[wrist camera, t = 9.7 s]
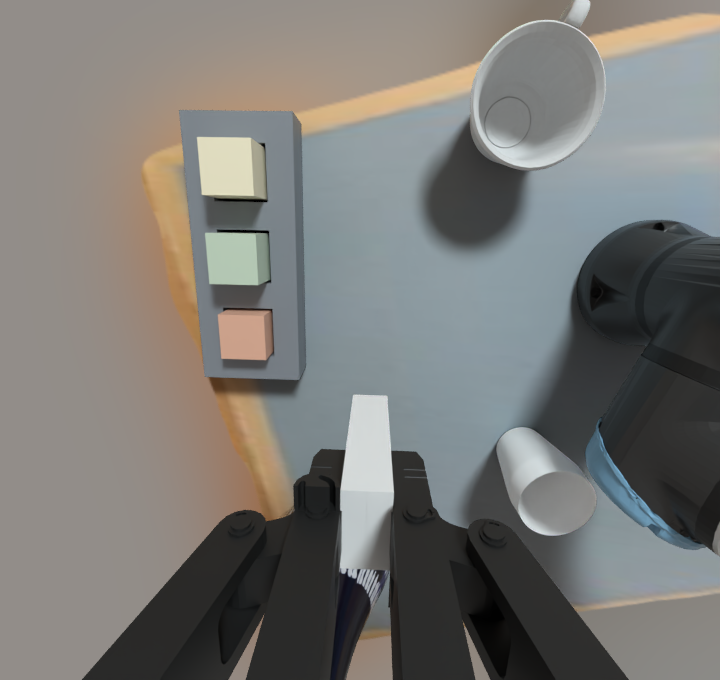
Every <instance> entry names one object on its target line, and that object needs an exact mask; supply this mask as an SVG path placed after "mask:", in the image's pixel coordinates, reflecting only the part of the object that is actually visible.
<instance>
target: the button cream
mask: <svg viewBox="0 0 720 680" xmlns="http://www.w3.org/2000/svg"><path fill="white" fill-rule="evenodd" d="M197 144H198V156H199V167H200V179H201V190H202V195H205V196H210V197H215V198H220V199H225V200H268V195H267V172H266V149H265V148H264V147H263V146H261V145H260V144H259V143H257V142H256V141H255V140H253V139H252V138H238V137H197Z"/></svg>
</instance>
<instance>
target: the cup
mask: <svg viewBox="0 0 720 680" xmlns="http://www.w3.org/2000/svg"><path fill="white" fill-rule="evenodd" d="M496 452H497V456H498V460H499V463H500V467H501V470H502V474H503V477H504V481H505V485H506V488H507V492H508V495H509V498H510V501H511V503H512V505H513V506H514V507H515V509H516V511H517V512H518V514H519V516H520V517H521V519H522V521H523V522H524V524H525V525H526V526H527V527H528V528H530V529H531V530H533V531H535V532H537V533H540V534H543V535H549V536H558V535H564V534H568V533H571V532H573V531H575V530H577V529H579V528H580V527H582V526H583V525H584V524H585V523H586V522H587V521H588V520H589V519H590V518H591V516H592V515H593V513H594V511H595V508H596V502H597V498H596V493H595V490H594V488H593V486H592V485H591V483H590V482H589V481H588V479H587V478H586V477H585V475H584V474H583V472H582V471H581V469H580V468H579V467H578V466H577V465H576V464H575V463H574V462H573V461H572V460H571V459H569V458H568V457H567V456H566V455H564V454H563V453H562V452H561V451H560V450H558V449H557V448H556V447H555V446H553V445H552V444H551V443H550V442H548V441H547V440H546V439H545V438H544V437H542V436H541V435H540V434H539V433H537V432H536V431H535V430H533V429H530V428H526V427H518V428H514V429H511V430H509V431H507V432H506V433H505V434H503V435H502V436H501V438H500V439H499V441H498V443H497V447H496Z"/></svg>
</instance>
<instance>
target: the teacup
mask: <svg viewBox="0 0 720 680" xmlns="http://www.w3.org/2000/svg"><path fill="white" fill-rule="evenodd" d="M589 9H590V2H589V0H572V1H571V2H570V3H569V5H568V6H567V8H566V9H565V11H564V12H563V13H562V15H561V17H560V18H559V20H558V21H553V20H539V21H534V22H529V23H527V24H524V25H521V26H519V27H517V28H515V29H514V30H512V31H510V32H509V33H508V34H506V35H505V36H503V37H502V38H501V39H500V40H499V41H498V42H497V43H496V44H494V46H493V47H492V48H491V49H490V51H489V52H488V53H487V54H486V56H485V57H484V59H483V60H482V62H481V64H480V66H479V68H478V70H477V72H476V75H475V78H474V81H473V85H472V89H471V97H470V112H471V114H470V130H471V135H472V138H473V141H474V143H475V145H476V147H477V148H478V150H479V151H480V152H481V153H482V154H483V155H484V156H485V157H486V158H488V159H490V160H491V161H493V162H496V163H499V164H503V165H505V166H508V167H511V168H514V169H518V170H526V171H533V170H541V169H545V168H548V167H551V166H554V165H556V164H558V163H560V162H562V161H564V160H565V159H567V158H568V157H570V156H571V155H572V154H573V153H575V152H576V151H577V150H578V149H579V148H580V147H581V146H582V145H583V144H584V143H585V142H586V140H587V139H588V138H589V137H590V135H591V134H592V132H593V130H594V129H595V127H596V125H597V123H598V120H599V118H600V115H601V112H602V109H603V105H604V100H605V92H606V78H605V70H604V66H603V62H602V59H601V57H600V54H599V52H598V50H597V49H596V47H595V45H594V44H593V43H592V41H591V40H590V39H589V38H588V37H587V36H586V35H585V34H584V33H582V32H581V31H580V30H578V29H579V28H580V26H581V25H582V23H583V21H584V20H585V17H586V15H587V13H588V11H589Z"/></svg>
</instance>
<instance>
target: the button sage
mask: <svg viewBox="0 0 720 680" xmlns="http://www.w3.org/2000/svg"><path fill="white" fill-rule="evenodd" d="M205 239H206V250H207V262H208V273H209V284H229V285H260V284H262V283H264V282H266V281H268V280H270V279H271V264H270V241H269V233H230V232H225V233H205Z"/></svg>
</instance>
